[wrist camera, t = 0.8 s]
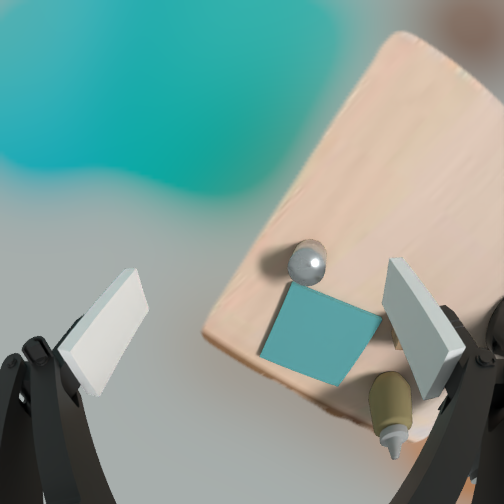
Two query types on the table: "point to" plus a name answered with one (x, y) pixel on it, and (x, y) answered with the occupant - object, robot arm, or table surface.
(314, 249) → the grey metal tin
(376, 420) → the squeeze bottle
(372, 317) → the teal mat
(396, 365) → the table surface
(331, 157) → the table surface
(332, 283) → the table surface
